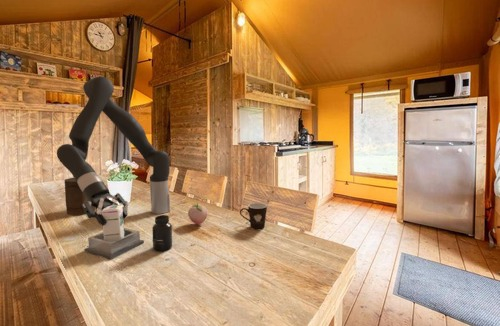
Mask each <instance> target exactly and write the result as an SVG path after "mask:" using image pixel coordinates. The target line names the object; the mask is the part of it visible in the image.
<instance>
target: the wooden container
mask: <svg viewBox="0 0 500 326" xmlns="http://www.w3.org/2000/svg"><path fill="white" fill-rule="evenodd" d="M64 191H65V192H64V193H65V197H64V198H65V208H66V209H65V210H66V211H65V212H66V214H67V215H68V216H83V215H86V213H85V211H84V209H83V207H82V205H83V203H84V202H85V201H88V199H87V198H86V196H85V195H84V193H83V192H82V190H81V189H80V187H79V185H78V183H77V181H76V180H75V178H74V177H69V178H66V179H64ZM88 202H89V201H88ZM91 207H92V209H93V211H94V212H95V208H96V207H94V206H91Z"/></svg>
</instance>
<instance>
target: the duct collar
mask: <svg viewBox="0 0 500 326" xmlns="http://www.w3.org/2000/svg"><path fill="white" fill-rule="evenodd" d="M124 234H125V237H122V238H120V239H118V240H115V241H113V242H109V241H105V240H104V236H103V231H102V232H100V233H97V234H95V235H92V236H90V237H88V239H87V240H88V241H87V243H88V247H86V248H84V252H85V253H89V254H92V255H95V256H98V257H101V258H104V259H107V260H114V259H115V258H117V257H119V256H121V255H123V254H126V253H127V252H129V251H131V250H133V249H135V248H137V247H139V246H141V245H143V244H144V243H145V240H143V239H141V237H140V230H136V229H131V228H127V227H124Z"/></svg>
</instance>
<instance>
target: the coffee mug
mask: <svg viewBox="0 0 500 326" xmlns="http://www.w3.org/2000/svg"><path fill="white" fill-rule="evenodd" d="M267 209H268V205H267V204H266V203H262V202H253V203H248V205H247V207H244V208H241V209H240V210H239V215H240V216H241V217H243V218H244V219H245V220H247V222H249V225H250V228H251V229H252V228H253V230H263V229H264V228H265V224H266V217H267ZM243 210H246V211H247V213H248V215H249V217H248V218H247V217H245V215H243V214H242V211H243Z"/></svg>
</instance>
